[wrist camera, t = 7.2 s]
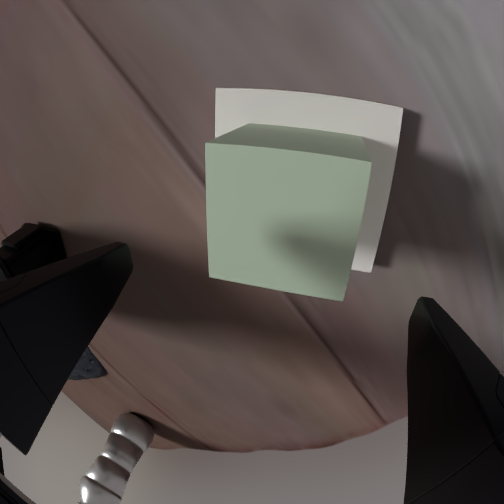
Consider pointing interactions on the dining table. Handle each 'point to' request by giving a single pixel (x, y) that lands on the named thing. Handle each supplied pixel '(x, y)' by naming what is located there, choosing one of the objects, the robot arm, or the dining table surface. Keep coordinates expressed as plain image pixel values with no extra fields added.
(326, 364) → the dining table surface
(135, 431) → the plastic bottle
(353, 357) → the dining table surface
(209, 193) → the cube
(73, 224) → the dining table surface
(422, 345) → the robot arm
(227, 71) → the dining table surface
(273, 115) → the tile
